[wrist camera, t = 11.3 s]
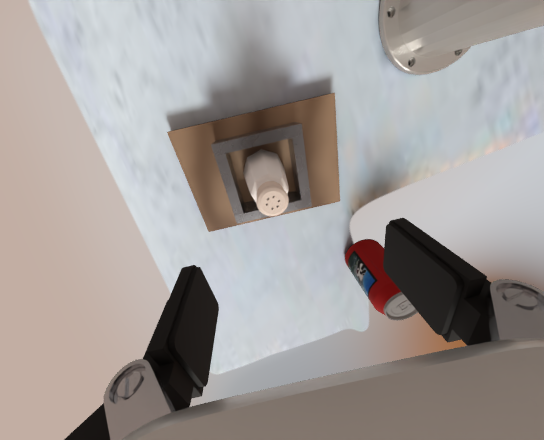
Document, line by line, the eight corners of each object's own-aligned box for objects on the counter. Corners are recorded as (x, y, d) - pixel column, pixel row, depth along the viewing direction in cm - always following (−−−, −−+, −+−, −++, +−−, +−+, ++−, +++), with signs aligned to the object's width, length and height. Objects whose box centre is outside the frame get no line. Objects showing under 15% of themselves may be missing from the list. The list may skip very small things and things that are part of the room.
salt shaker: (234, 173, 27) (227, 208, 18) (260, 139, 26) (268, 157, 16) (266, 197, 29) (276, 240, 20) (292, 166, 28) (317, 197, 18)
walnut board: (330, 93, 25) (334, 92, 24) (336, 197, 32) (339, 201, 31) (171, 131, 25) (167, 132, 24) (210, 226, 32) (208, 231, 31)
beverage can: (336, 251, 37) (371, 307, 27) (369, 229, 36) (420, 279, 25) (353, 272, 40) (392, 330, 29) (384, 252, 38) (437, 306, 28)
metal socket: (294, 121, 25) (301, 123, 22) (305, 196, 30) (311, 206, 27) (215, 140, 25) (210, 144, 22) (238, 212, 30) (237, 223, 27)
